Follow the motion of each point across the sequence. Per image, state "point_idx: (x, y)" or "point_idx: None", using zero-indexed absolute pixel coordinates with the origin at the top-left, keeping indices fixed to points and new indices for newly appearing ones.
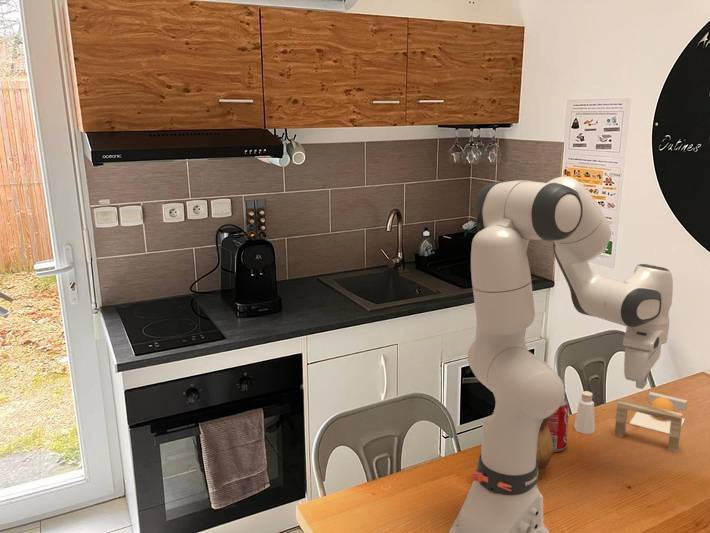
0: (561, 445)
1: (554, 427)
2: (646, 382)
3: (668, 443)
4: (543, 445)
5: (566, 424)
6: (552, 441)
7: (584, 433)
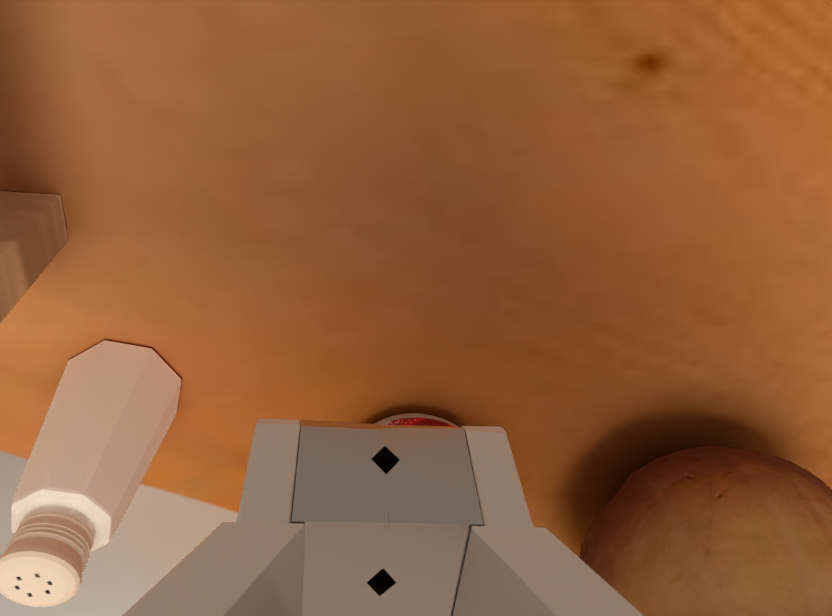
0: None
1: None
2: (273, 453)
3: None
4: None
5: None
6: (737, 529)
7: (178, 376)
